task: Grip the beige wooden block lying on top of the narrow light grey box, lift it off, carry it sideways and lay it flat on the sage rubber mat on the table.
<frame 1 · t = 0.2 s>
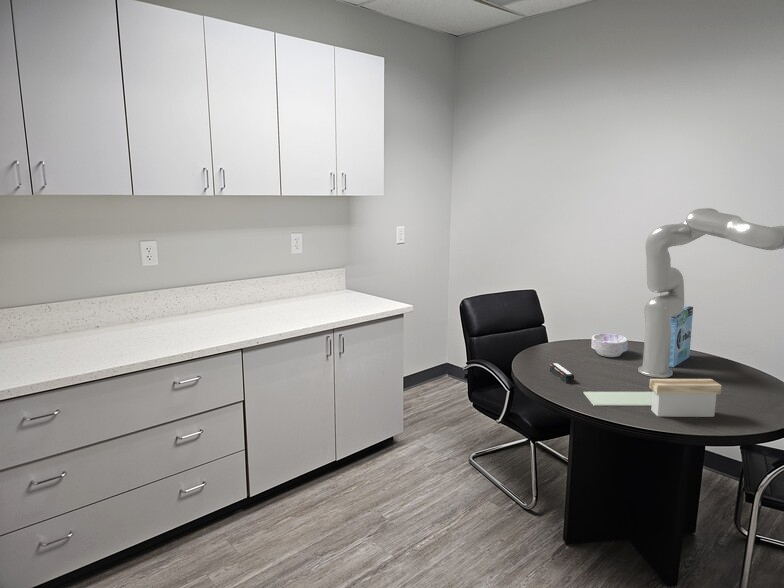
beige wooden block: (684, 390, 174), point 8 cm above the table, touching box
paper bowls: (608, 354, 240), on the table
gum box: (675, 361, 228), on the table
bus: (561, 376, 215), on the table
box: (682, 413, 176), on the table
mat: (625, 399, 188), on the table
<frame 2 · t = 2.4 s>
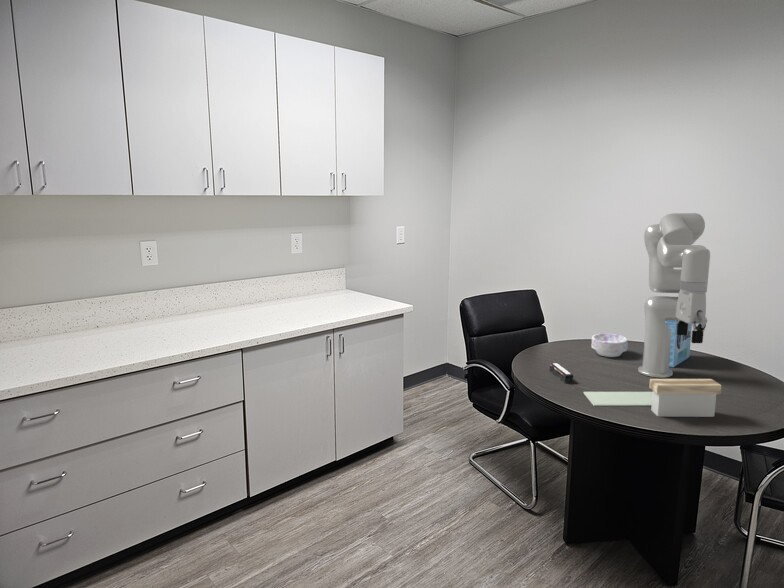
hand: (689, 338, 171), 26 cm above the table, tool pointing down, fingers open, 9 cm apart
nothing on the table moved.
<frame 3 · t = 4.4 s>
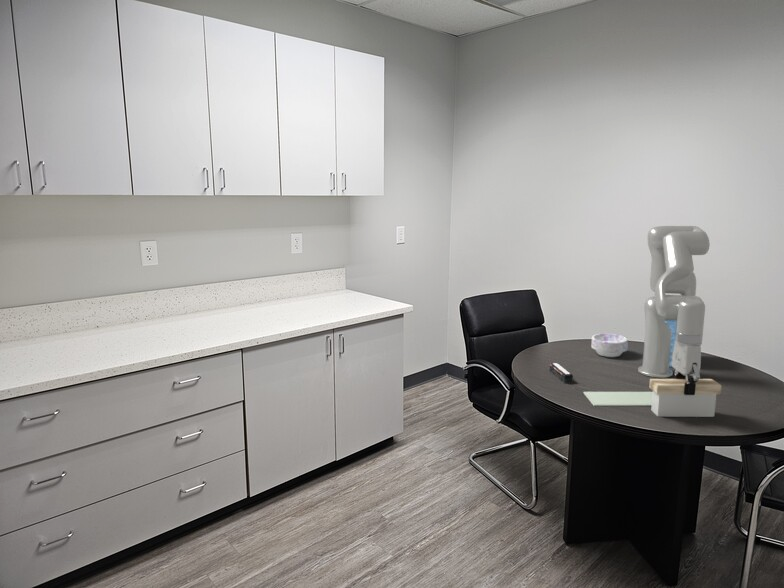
hand: (684, 390, 174), 8 cm above the table, tool pointing down, fingers closed on beige wooden block, 6 cm apart
beige wooden block: (684, 390, 174), point 8 cm above the table, touching box, gripper
everything else where it was.
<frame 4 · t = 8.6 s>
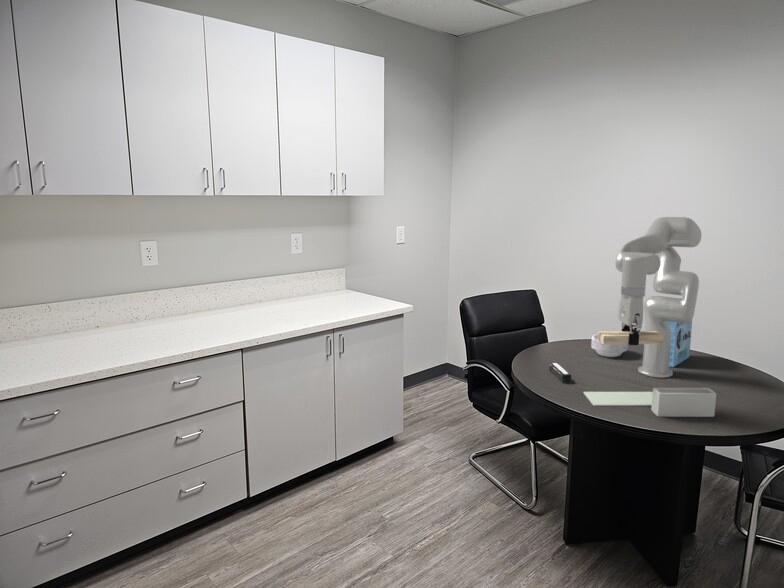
hand: (629, 341, 184), 21 cm above the table, tool pointing down, fingers closed on beige wooden block, 6 cm apart
beige wooden block: (629, 341, 184), point 21 cm above the table, touching gripper
everything else where it was.
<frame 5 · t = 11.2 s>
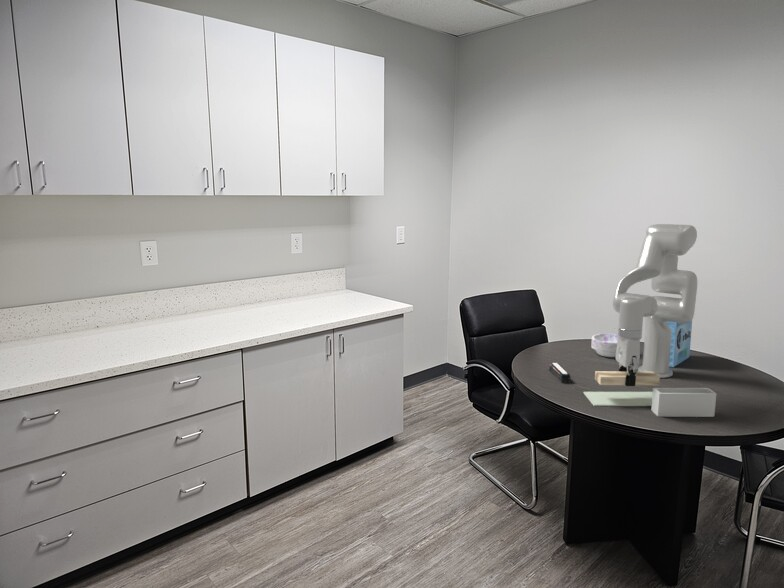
hand: (626, 382, 187), 7 cm above the table, tool pointing down, fingers closed on beige wooden block, 6 cm apart
beige wooden block: (626, 382, 187), point 7 cm above the table, touching gripper
everything else where it was.
when the fingers open (2 cm above the table, at t = 13.1 s): beige wooden block drops 1 cm, resting on mat.
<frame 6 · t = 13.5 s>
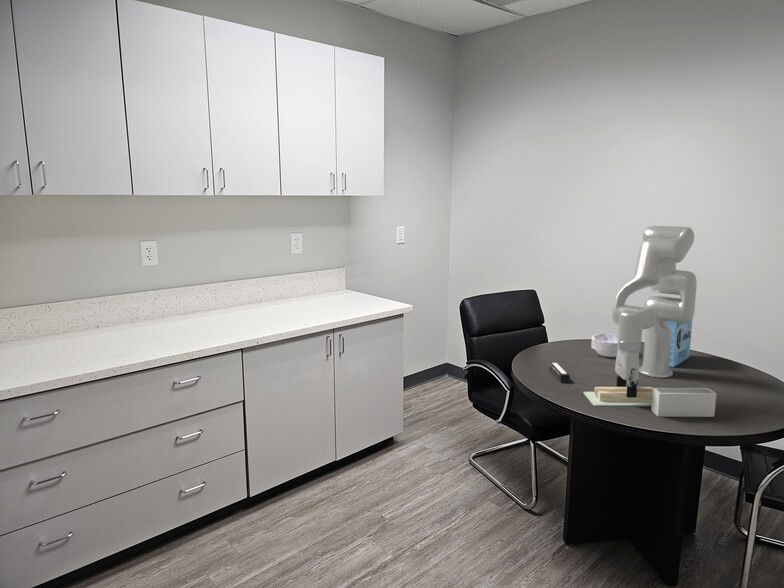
hand: (626, 392, 188), 3 cm above the table, tool pointing down, fingers open, 9 cm apart
beige wooden block: (625, 397, 188), resting on mat
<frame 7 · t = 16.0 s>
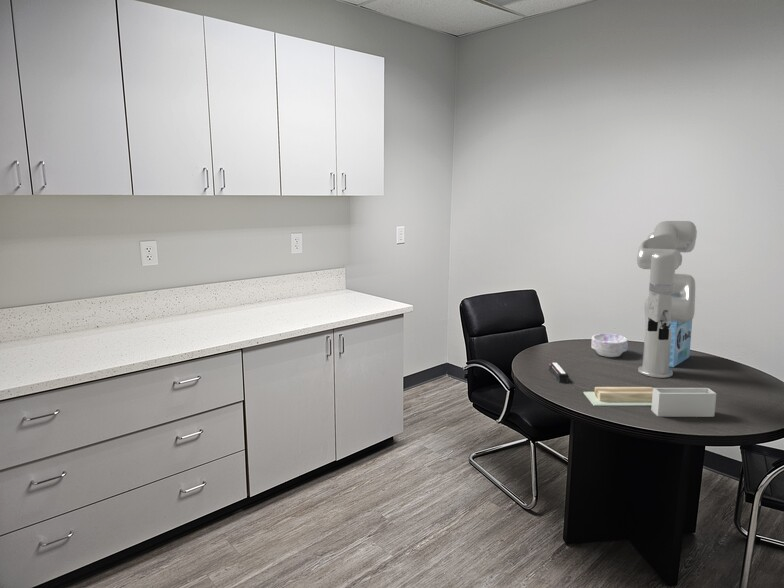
hand: (657, 335, 187), 23 cm above the table, tool pointing down, fingers open, 9 cm apart
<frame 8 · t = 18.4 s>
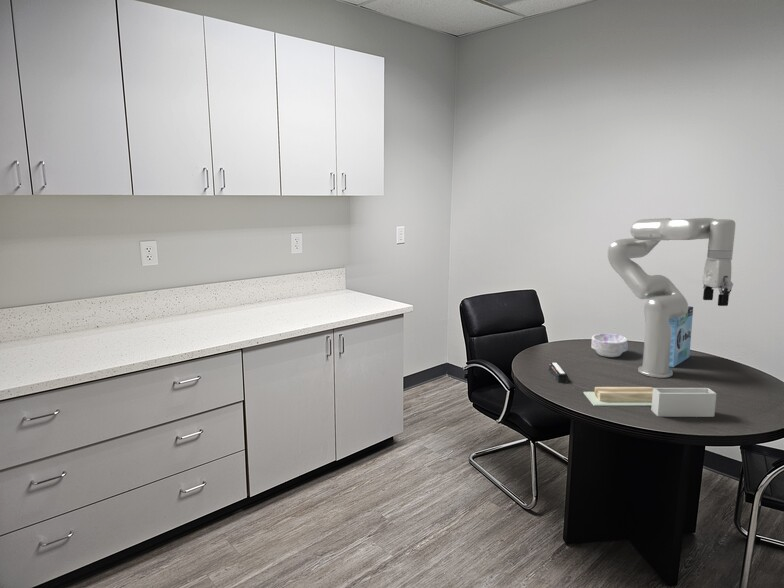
hand: (715, 302, 188), 33 cm above the table, tool pointing down, fingers open, 9 cm apart
at the end: beige wooden block inside the target area on the mat (0.1 cm from its centre), point 0.5 cm above the mat's base; beige wooden block tilted 0°; the gripper is holding nothing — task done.
